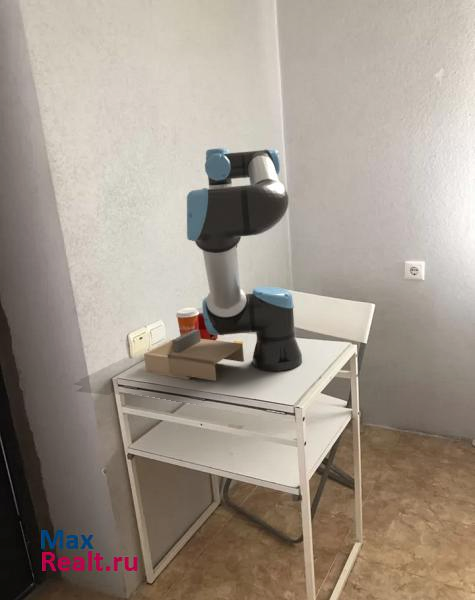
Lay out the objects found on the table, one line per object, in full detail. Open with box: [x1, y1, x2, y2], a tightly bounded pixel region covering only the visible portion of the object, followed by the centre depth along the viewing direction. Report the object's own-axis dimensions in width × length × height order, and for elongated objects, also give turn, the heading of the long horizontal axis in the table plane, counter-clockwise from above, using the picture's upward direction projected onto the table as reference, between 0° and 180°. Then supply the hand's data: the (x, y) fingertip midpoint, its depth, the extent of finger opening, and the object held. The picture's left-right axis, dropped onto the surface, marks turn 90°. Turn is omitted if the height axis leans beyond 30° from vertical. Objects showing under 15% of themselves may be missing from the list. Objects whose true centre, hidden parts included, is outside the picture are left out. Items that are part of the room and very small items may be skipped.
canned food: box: [196, 307, 219, 341], centre depth 185 cm, size 8×8×11 cm
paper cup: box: [175, 307, 199, 337], centre depth 174 cm, size 8×8×14 cm
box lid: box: [168, 329, 245, 382], centre depth 154 cm, size 16×16×10 cm
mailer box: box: [143, 339, 191, 380], centre depth 160 cm, size 16×14×6 cm
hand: (227, 269), depth 171 cm, fingers closed
